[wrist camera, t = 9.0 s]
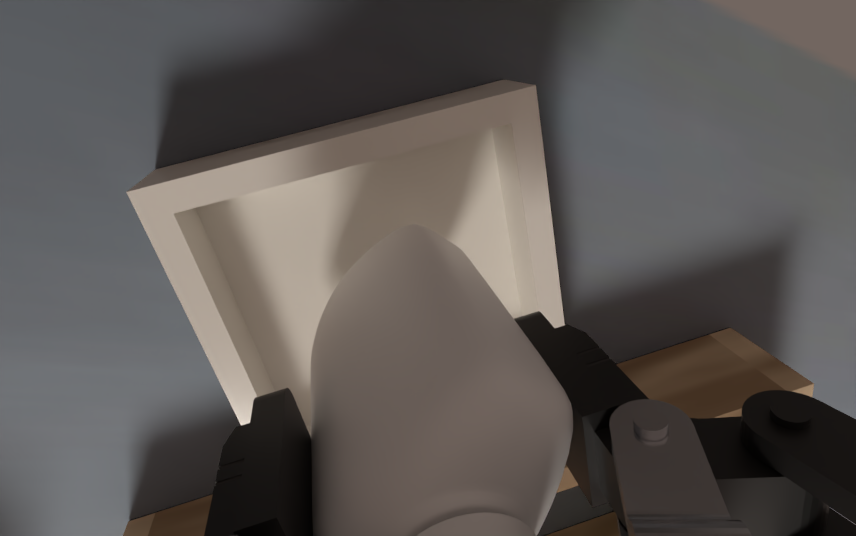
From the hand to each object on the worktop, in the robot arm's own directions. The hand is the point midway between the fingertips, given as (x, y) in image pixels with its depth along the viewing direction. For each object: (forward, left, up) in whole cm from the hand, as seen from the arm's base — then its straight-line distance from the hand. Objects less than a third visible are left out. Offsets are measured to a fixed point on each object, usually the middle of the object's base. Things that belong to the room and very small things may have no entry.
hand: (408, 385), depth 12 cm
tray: (0, 0, -6) cm, 6 cm away
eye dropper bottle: (0, 0, -4) cm, 4 cm away
